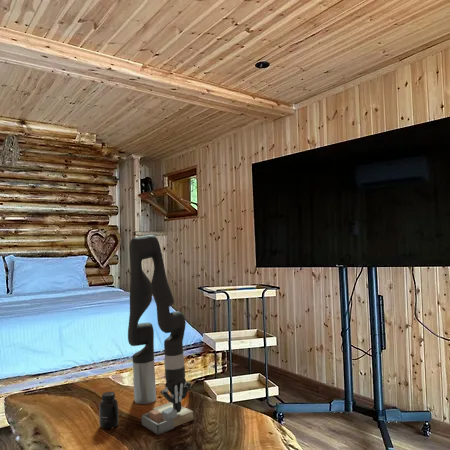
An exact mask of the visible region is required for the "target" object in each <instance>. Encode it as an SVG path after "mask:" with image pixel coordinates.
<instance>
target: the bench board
mask: <svg viewBox="0 0 450 450" xmlns="http://www.w3.org/2000/svg"><path fill="white" fill-rule="evenodd" d="M170 407H172V408H173V403H171V402H167V403H165V404H161V405H159V406H156V407H153V408H152V410H158V411H159V412H161V420H163V421H167V420H166V419H164V418H162V411H163V410H165V409H168V408H170ZM173 419H174V428H176V427H178V426H180V425H183V424H185V423H188V422H191V421H193V420H194V411H193V410H191V409H189V408H188V407H187V408H186V407H184V406H182V405H181V411H180V412H178V413H177V417H176V418H173Z"/></svg>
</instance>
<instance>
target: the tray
mask: <svg viewBox="0 0 450 450" xmlns="http://www.w3.org/2000/svg"><path fill="white" fill-rule="evenodd" d="M157 411H158V410H157ZM140 419H141V420H140V421H141V426H143V427H145V428H146V429H148V430H149V431H151V432H152V433H154V434H156V435H162V434H164V433H167V432H169V431H172V430H174V429H175V427H174V419H173V418H172V419H170V420H167V421H163V420H161V423H159V424H157V423H156V422H154V421H152V420H151V419H150V416H149V412H147V413H144V414H141V415H140Z"/></svg>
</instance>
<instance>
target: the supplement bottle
mask: <svg viewBox="0 0 450 450" xmlns="http://www.w3.org/2000/svg"><path fill="white" fill-rule="evenodd" d="M115 395H116V393H115V392H114V391H106V392H103V393H102V394H101V401H100V402H99V405H98V407H99V409H98V410H99V411H98V412H99V413H98V414H99V415H98V416H99V427H100V426H101V427H103V428H112V427H114V428H116V427H117V426H119V402H118V400H117V399H116V396H115ZM115 426H116V427H115ZM101 427H100V428H101ZM112 429H113V428H112Z"/></svg>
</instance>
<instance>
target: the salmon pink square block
mask: <svg viewBox="0 0 450 450" xmlns="http://www.w3.org/2000/svg"><path fill="white" fill-rule="evenodd" d="M148 413H149V416H150V419H151V420H152V421H154V422H156V423H157V424H159V423H161V412H159V411H157V410H153V409H152V410H150V411H149V412H148Z"/></svg>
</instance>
